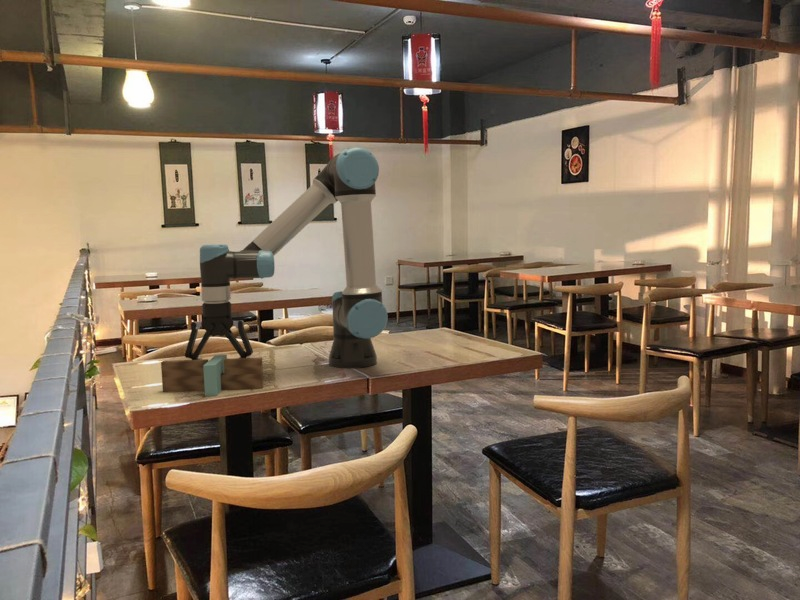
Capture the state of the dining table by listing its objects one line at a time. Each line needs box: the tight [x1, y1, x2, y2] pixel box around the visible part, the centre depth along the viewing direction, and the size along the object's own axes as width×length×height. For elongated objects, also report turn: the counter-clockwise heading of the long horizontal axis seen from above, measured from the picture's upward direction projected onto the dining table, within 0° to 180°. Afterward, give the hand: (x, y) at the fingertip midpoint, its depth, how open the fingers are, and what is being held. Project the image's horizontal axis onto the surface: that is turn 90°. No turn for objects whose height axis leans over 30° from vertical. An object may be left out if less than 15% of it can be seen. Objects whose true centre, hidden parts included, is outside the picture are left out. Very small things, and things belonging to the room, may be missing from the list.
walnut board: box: [160, 357, 264, 393], centre depth 166 cm, size 26×2×8 cm, turn 94°
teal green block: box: [203, 354, 228, 397], centre depth 166 cm, size 3×14×8 cm, turn 4°
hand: (220, 381), depth 170 cm, fingers open, 10 cm apart
